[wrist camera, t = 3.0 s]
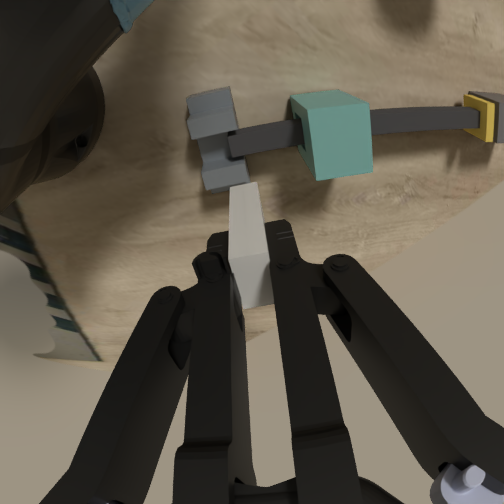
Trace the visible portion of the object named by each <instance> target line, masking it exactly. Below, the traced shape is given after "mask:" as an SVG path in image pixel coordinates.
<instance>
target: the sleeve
mask: <svg viewBox="0 0 504 504" xmlns="http://www.w3.org/2000/svg"><path fill="white" fill-rule="evenodd" d="M290 101H291V107H292V113H293V119H298V118H301V120H302V127H303V134H304V141H305V144H303V145H298V151H299V153H300V154H301V156H302V158H303V159H304V161H305V163H306V164H307V166H308V168H309V169H310V171H311V173H312V174H313V176H314V178H315V180H316V181H320V180H326V179H332V178H338V177H344V176H351V175H358V174H364V173H371V172H373V160H372V138H371V122H370V109H369V103H368V102H366V101H363V100H361V99H359V98H357V97H354V96H352V95H350V94H348V93H345V92H343V91H340V90H329V91H320V92H312V93H304V94H297V95H290Z"/></svg>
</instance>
